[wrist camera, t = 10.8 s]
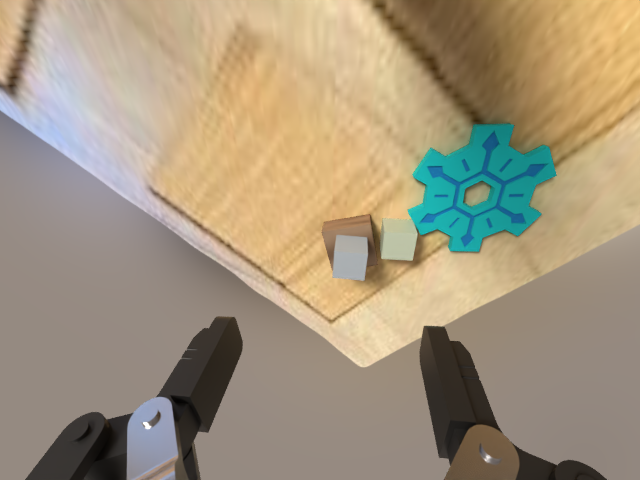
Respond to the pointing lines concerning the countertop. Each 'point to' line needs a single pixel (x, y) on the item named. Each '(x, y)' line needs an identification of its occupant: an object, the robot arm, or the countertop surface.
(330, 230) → the walnut base
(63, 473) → the robot arm
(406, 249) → the sage block
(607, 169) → the countertop surface
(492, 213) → the decorative ornament
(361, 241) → the slate cube
